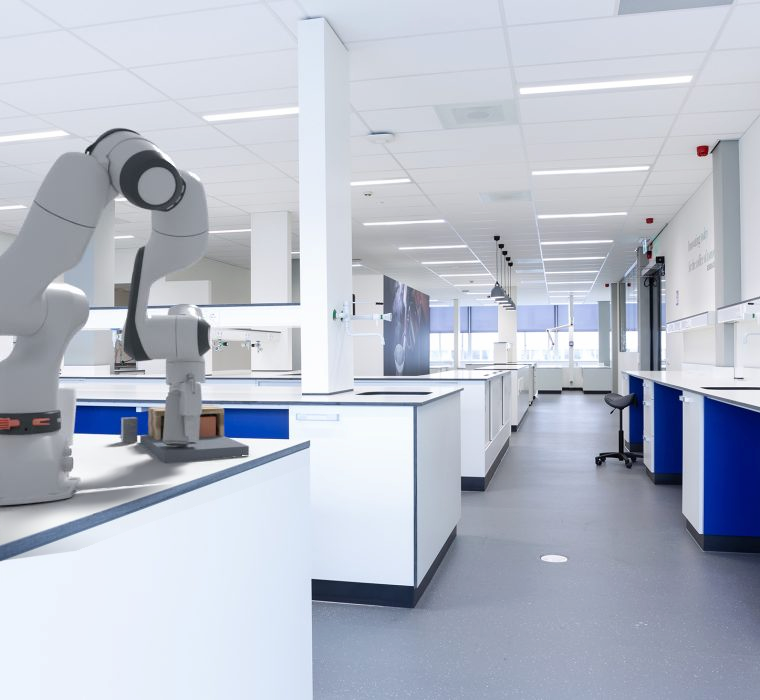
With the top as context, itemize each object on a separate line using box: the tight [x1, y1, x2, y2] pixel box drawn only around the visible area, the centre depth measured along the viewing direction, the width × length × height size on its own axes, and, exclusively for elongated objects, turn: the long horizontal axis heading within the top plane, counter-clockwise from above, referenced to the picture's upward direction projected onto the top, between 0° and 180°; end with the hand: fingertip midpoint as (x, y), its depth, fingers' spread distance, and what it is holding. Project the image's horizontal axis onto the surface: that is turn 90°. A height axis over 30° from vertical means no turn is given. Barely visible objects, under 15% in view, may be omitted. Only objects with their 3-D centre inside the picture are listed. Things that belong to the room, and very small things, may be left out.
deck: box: [139, 434, 250, 464], centre depth 173 cm, size 34×19×2 cm, turn 28°
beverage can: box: [163, 391, 191, 446], centre depth 161 cm, size 6×6×12 cm
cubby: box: [147, 404, 225, 440], centre depth 183 cm, size 12×17×7 cm
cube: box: [199, 415, 216, 437], centre depth 183 cm, size 5×5×5 cm
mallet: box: [119, 416, 138, 444], centre depth 188 cm, size 14×4×7 cm, turn 28°
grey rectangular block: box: [188, 415, 200, 442], centre depth 169 cm, size 21×8×7 cm, turn 28°
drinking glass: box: [58, 387, 77, 447], centre depth 179 cm, size 7×7×15 cm
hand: (186, 436), depth 160 cm, fingers closed on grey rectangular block, 3 cm apart
